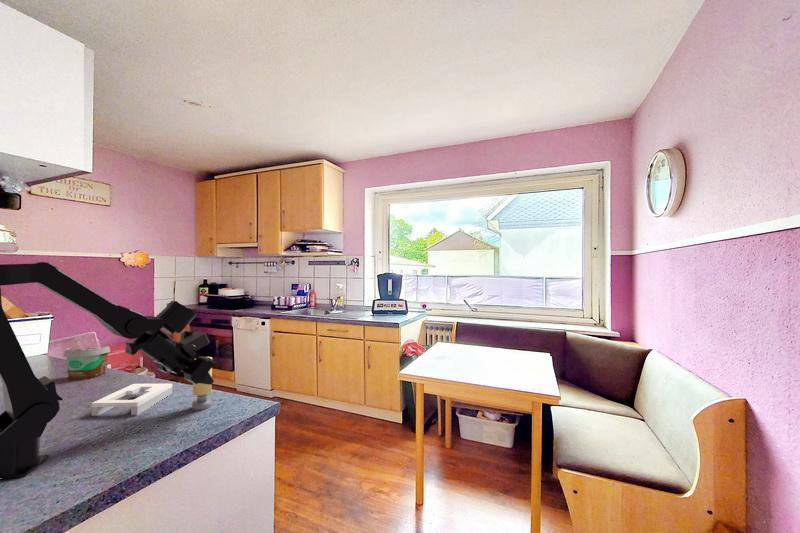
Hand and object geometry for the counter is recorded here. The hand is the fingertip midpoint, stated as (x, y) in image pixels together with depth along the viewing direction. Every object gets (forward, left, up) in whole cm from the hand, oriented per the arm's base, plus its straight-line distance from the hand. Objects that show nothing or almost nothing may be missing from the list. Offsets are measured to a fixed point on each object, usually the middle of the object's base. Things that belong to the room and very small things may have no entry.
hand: (207, 381), depth 89 cm
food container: (+36, +44, -7) cm, 57 cm away
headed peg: (-1, +1, -7) cm, 7 cm away
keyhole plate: (+6, +19, -7) cm, 21 cm away
